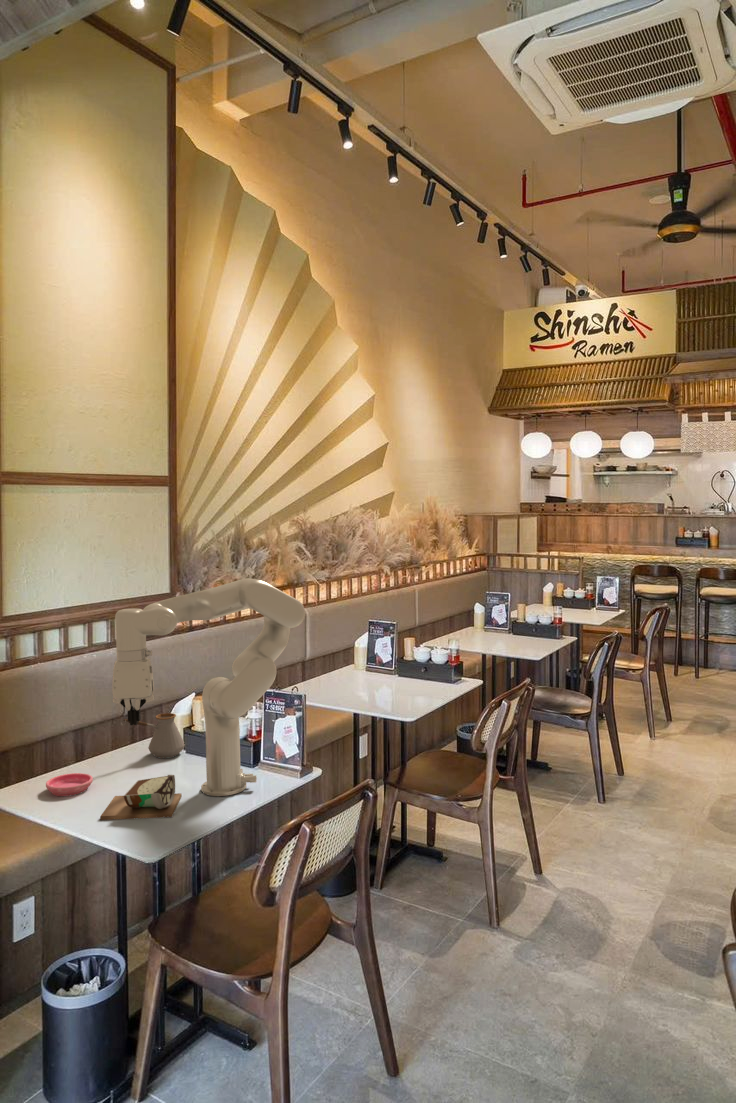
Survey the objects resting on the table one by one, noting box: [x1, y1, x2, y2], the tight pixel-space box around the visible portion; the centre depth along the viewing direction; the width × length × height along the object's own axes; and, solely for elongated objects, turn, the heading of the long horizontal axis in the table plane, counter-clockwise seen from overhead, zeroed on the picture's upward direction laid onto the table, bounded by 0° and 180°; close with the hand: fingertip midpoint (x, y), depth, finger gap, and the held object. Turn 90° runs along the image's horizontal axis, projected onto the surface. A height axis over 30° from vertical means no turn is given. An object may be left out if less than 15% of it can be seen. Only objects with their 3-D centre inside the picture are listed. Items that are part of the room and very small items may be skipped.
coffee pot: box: [120, 712, 186, 759], centre depth 242 cm, size 21×12×15 cm, turn 138°
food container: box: [123, 774, 176, 809], centre depth 199 cm, size 12×6×10 cm
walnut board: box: [100, 792, 182, 821], centre depth 201 cm, size 18×14×1 cm
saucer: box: [45, 772, 94, 797], centre depth 215 cm, size 12×12×3 cm
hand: (134, 723), depth 201 cm, fingers closed
